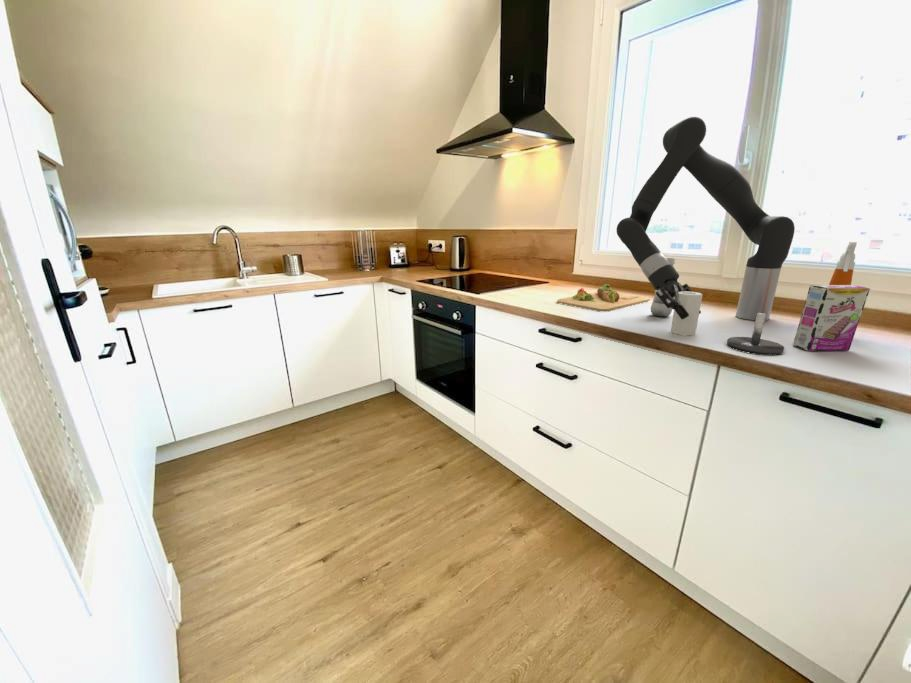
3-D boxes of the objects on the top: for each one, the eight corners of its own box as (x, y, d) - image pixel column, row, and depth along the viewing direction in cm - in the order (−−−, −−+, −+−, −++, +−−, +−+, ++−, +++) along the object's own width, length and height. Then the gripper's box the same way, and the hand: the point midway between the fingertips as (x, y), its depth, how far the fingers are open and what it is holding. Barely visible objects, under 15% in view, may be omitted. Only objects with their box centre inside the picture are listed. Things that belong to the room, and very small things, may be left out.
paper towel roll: (678, 329, 119) (684, 290, 115) (698, 333, 114) (705, 293, 110) (667, 331, 116) (673, 292, 112) (687, 336, 111) (694, 295, 107)
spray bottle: (809, 336, 110) (835, 242, 102) (810, 328, 118) (834, 240, 110) (843, 341, 106) (873, 242, 98) (842, 333, 113) (869, 241, 105)
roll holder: (738, 338, 109) (745, 306, 106) (791, 349, 99) (800, 315, 96) (717, 345, 103) (724, 312, 100) (771, 358, 93) (780, 321, 90)
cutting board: (603, 314, 142) (606, 294, 140) (553, 304, 160) (555, 286, 158) (652, 302, 162) (654, 284, 160) (602, 294, 180) (604, 278, 178)
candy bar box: (808, 352, 97) (827, 288, 92) (791, 346, 102) (808, 284, 97) (851, 351, 97) (871, 287, 93) (832, 345, 102) (850, 284, 97)
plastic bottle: (673, 318, 132) (683, 259, 126) (652, 317, 133) (661, 259, 127) (667, 314, 138) (676, 257, 132) (647, 313, 139) (655, 257, 133)
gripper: (654, 264, 111) (689, 312, 105) (681, 261, 119) (715, 305, 113) (635, 280, 117) (667, 326, 111) (662, 277, 125) (694, 319, 119)
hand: (691, 315), depth 112 cm, fingers closed on paper towel roll, 6 cm apart
